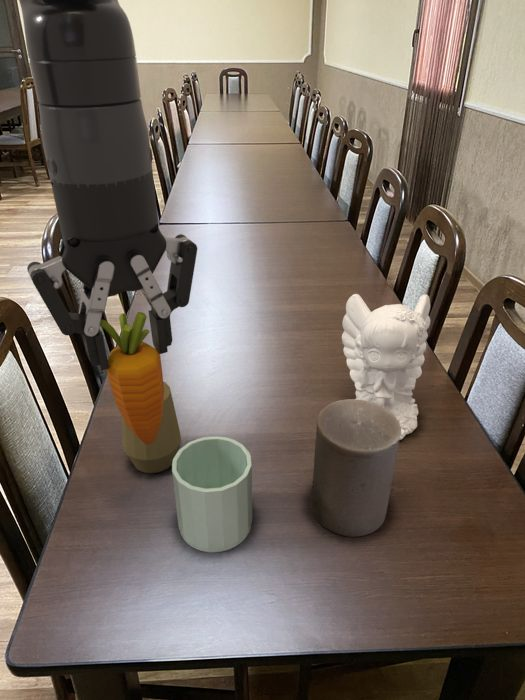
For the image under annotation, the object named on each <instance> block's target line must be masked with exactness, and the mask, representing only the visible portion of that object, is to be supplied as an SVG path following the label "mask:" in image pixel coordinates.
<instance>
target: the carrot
mask: <svg viewBox="0 0 525 700" xmlns="http://www.w3.org/2000/svg"><path fill="white" fill-rule="evenodd" d="M118 317H119V326H120V331H121V334H119V333H118V332H117V330H116V329H115V328H114V326H113V325H111V324H110V323H109V322H108V321H106V320H105V319H101V322H100V327H101V328H102V330H104V331H105V332H106V333H107V334H108V335H109V337H110V338H111V339H112V340H113V341H114V342H115V343H116V345H117V346H116V347H115V348H113V349H112V350H111V351H110V353H109V356H108V357H107V360H108V365H109V369H106V373H107V378H108V382H109V385H110V389H111V391H112V395H113V398H114V401H115V404H116V406H117V409H118V410H119V413H120V416H121V415H122V417H123V419H124V421H125V423H126V424H127V426H128V427H129V428H130V430H131V431H132V432H133V433H134V434H135V435H136V436H137V437H138V438H139V439H140V440H141V441H142V442H143V443H144V444H147V445H150V444H152V443H153V442H154V440H155V438H156V436H157V434H158V431H159V427H160V423H161V419H162V413H163V399H164V385H163V382H164V375H163V367H162V359H161V354H159V352H158V350H157V349H155V347H154V346H152V345H150V344H148V343H147V342H145V341H144V340H145V338H146V337H147V336H148V334H149V333H151V330H149V329H148V328H147V329H144V326H145V324H146V320H147V315H146V314H145V313H144V312H142V311H138V312H137V313H136V314H135V317H134V320H133V323H132V325H131V324H128V319H127V314H126V313H125V312H124V313H121V314H120V315H119V316H118Z"/></svg>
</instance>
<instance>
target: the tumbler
mask: <svg viewBox="0 0 525 700" xmlns="http://www.w3.org/2000/svg"><path fill="white" fill-rule="evenodd" d="M251 456H252V455H251V453H250V452H249V450H248V449H247V448H246V447H245V445H243V444H242V443H240V442H239V441H237V440H235V439H233V438H230V437H224V436H220V435H219V436H218V435H217V436H203V437H200V438H197V439H193V440H191V441H189V442H187V443H186V444H185V445H183V446H182V447H180V448H178V451H177V454H176V455H175V457H174V459H173V461H172V465H171V472H172V473H171V474H172V482H173V490H174V491H173V492H174V499H175V508H176V518H177V524H178V529H179V534H180V536H181V537H182V539H183V540H184V542H185V543H186V544H187V545H188V546H190V547H191V548H193V549H196V550H198V551H201V552H205V553H222V552H226V551H229V550H231V549H233V548H235V547H237V546H238V545H240V544H241V543H242V542H243V541H245V539H246V538H247V537H248V535H249V534H250V531H251V529H252V525H253V466H252V465H253V463H252V457H251Z"/></svg>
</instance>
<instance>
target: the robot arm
mask: <svg viewBox="0 0 525 700" xmlns="http://www.w3.org/2000/svg"><path fill="white" fill-rule="evenodd" d="M18 1H19V5H20V9H21V13H22V19H23V28H24V37H25V45H26V51H27V57H28V59H29V60H28V61H29V66H30V71H31V76H32V80H33V86H34V91H35V93H36V95H35V96H36V100H37V102H38V103H37V105H38V110H39V121H40V133H41V134H40V136H41V143H42V147H43V152H44V156H45V161H46V166H47V170H48V171H47V172H48V176H49V181H50V184H51V185H50V186H51V190H52V195H53V199H54V204H55V209H56V213H57V218H58V223H59V228H60V233H61V237H62V242H61V247H60V250H59V252H58V253H59V255H58V256H55V257H53V258H51V259H49V260H47V261H44V262H42V263H41V262H39V261H31V262H30V263H29V264H28V265H27V267H26V268H27V270H26V271H27V273H28V275H29V277H30V279H31V282H32V284H33V286H34V287H35V289H36V291H37V293H38V294H39V296H40V298H41V299H42V301H43V303H44V304H45V306H46V308H47V310H48V311H49V314H50V316H52V318H53V320H54V322H55V323H56V326H57V327H58V330H60V332H61V334H63V335H64V336H71V335H73V334H79V335H82V340H83V344H84V348H85V353H86V356H87V358H88V360H89V362H90V364H91V365H92V366H93V367H97V366H98V369H99V371H100V372H102V371H105V370H106V369H109V365H108V355H107V354H108V353H107V350H106V345H105V339H104V334H103V333H102V331H101V328H100V327H101V326H100V322H101V321H102V317H103V313H105V311H106V307H107V302H108V298H109V297H114V296H117V295H120V294H121V293H123V292H137V291H141V293H142V294H143V296H144V297H145V299H146V301H147V303H148V305H149V306H150V310H148V318H149V326H150V333H151V340H152V344H153V348H155V349H157V350H158V352H159V354H160V355H163V354H166V353H168V347H170V346H172V343H173V332H172V324H171V315H172V312H174V311H175V310H176V309H178V308H185V307H187V306H188V304H189V303H190V298H191V292H192V286H193V285H192V284H193V279H194V272H195V267H196V262H197V261H196V260H197V253H198V245H197V244H196V243H195V242H194V241H192V240H191V239H190V238H188V236H186V235H185V234H182V233H180V234H178V235H176V236H174V237H167V236H164V235H163V233H162V232H161V230H160V226H159V217H158V215H159V214H158V207H157V199H156V198H157V197H156V190H155V179H154V171H153V158H154V157H153V150H152V148H151V143H150V135H149V129H148V125H147V121H146V117H145V113H144V109H143V103H142V99H141V97H142V96H141V95H142V94H141V87H140V79H139V70H138V69H139V68H138V61H137V60H138V59H137V53H136V46H135V39H134V35H133V30H132V26H131V22H130V20H129V17H128V15H127V13H126V12H125V10H124V9H123V7H121V5H120V2H119V0H18ZM165 252H166V257H167V259H168V260H169V261H170V267H169V274H168V280H167V286H166V291H164V292H163V290H162V289H161V287H160V285H159V283H158V282H157V280H156V278H155V276H154V273H155V270H156V268H157V267H158V265H159V262H160V261H161V259H162V257H163V256H164V254H165ZM65 271H68V272H69V273H70V274H71V275H72V276H74V277H75V278H76V279H78V281H80V282H81V287H80V294H79V295H80V303H79V308H78V313H77V312H69V311H68V309H67V307H66V306H65V303H64V302H63V300H62V298H61V296H60V294H59V293H58V290H59V289H60V288H61V287H62V286H63V285H64V282H63V281H64V280H63V278H62V276H63V273H64V272H65ZM106 371H107V370H106Z"/></svg>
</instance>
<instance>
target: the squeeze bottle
mask: <svg viewBox="0 0 525 700" xmlns="http://www.w3.org/2000/svg"><path fill="white" fill-rule="evenodd" d="M163 385H164V399H163V413H162V419H161V423H160V427H159V431H158V434H157V436H156V438H155V440H154V442H153V443H152V444H150V445H147V444H144V443H143V442H142V441H141V440H140V439H139V438H138V437H137V436H136V435H135V434H134V433H133V432H132V431H131V430H130V428H129V427H128V426H127V424H126V423H125V421H124V419H123V417H122V415H121V414H120V421H121V444H122V445H121V447H122V449H123V451H124V452H125V453H126V455H127V456H128V458H129V460H130V461H131V463H132V464H133V466H134V467H135V468H136V470H138V471H139V472H142V473H146V474H155V473H161V472H163V471H165V470H168V469H169V468H170V467H172V461H173V459H174V457H175V455H176V454H177V452H178V450H179V449H180V444H181V442H182V435H181V430H180V426H179V421H178V418H177V412H176V408H175V403H174V399H173V394H172V391H171V387H170V386H169V384H168V383H167V382H166V381H163Z"/></svg>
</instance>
